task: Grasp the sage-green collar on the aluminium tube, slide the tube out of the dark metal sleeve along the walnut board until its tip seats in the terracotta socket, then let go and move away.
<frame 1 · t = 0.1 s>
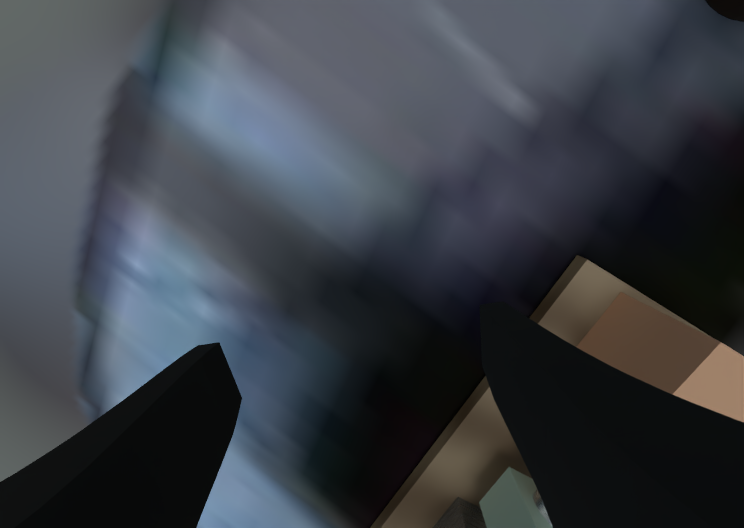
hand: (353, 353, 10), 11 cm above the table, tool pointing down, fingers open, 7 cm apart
tube stand: (515, 454, 23), on the table
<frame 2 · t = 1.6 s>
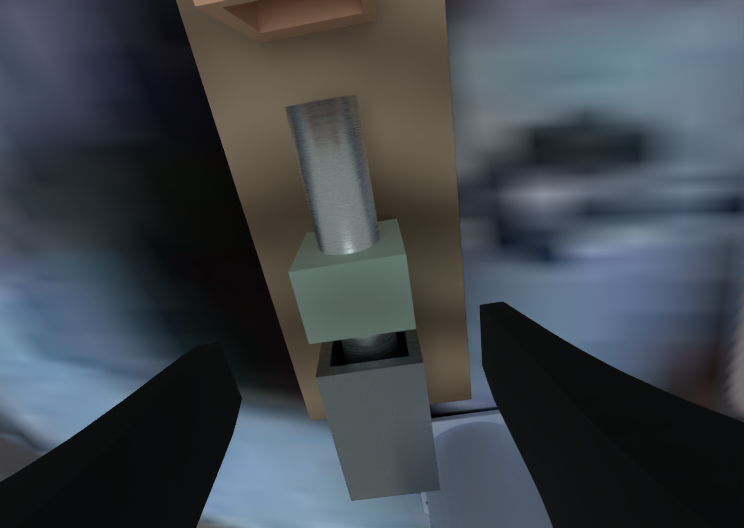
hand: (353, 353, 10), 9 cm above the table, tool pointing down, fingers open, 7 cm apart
tube stand: (355, 219, 18), on the table
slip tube: (362, 308, 15), point 5 cm above the table, slide at 0.0 cm
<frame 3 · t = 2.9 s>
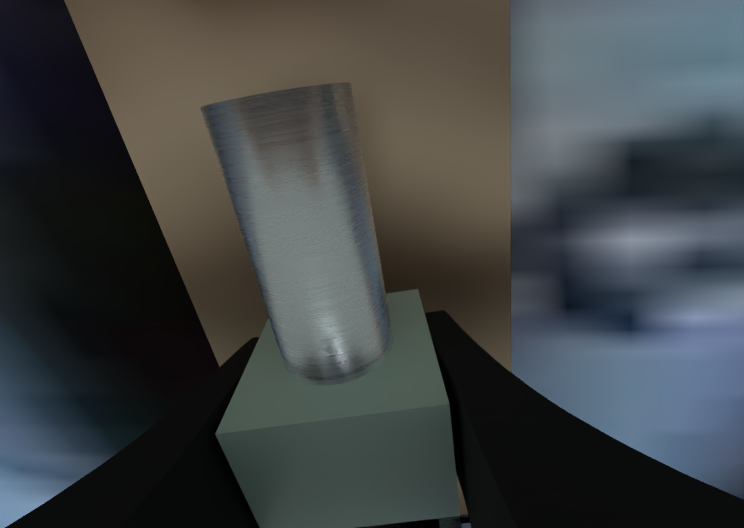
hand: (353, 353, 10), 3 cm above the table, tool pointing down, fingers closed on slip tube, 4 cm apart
tube stand: (351, 275, 12), on the table
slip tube: (362, 441, 9), point 5 cm above the table, slide at 0.0 cm, touching gripper
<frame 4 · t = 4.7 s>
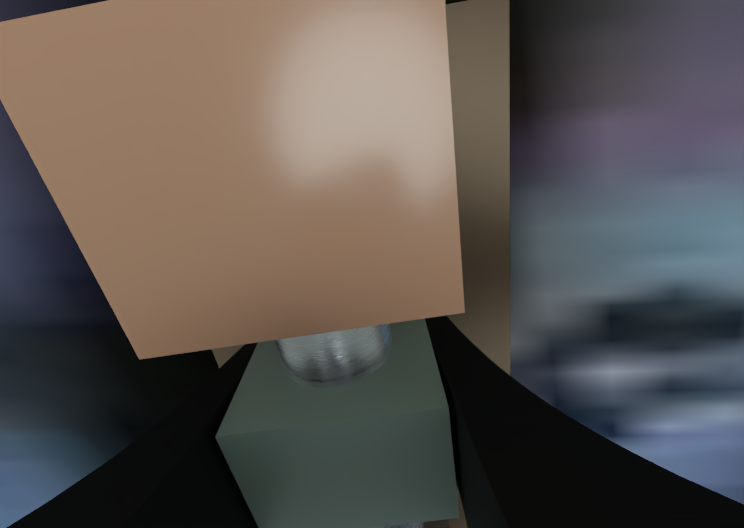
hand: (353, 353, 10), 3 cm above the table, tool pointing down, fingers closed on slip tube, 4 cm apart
tube stand: (375, 398, 14), on the table
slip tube: (361, 443, 9), point 5 cm above the table, slide at 5.5 cm, touching gripper
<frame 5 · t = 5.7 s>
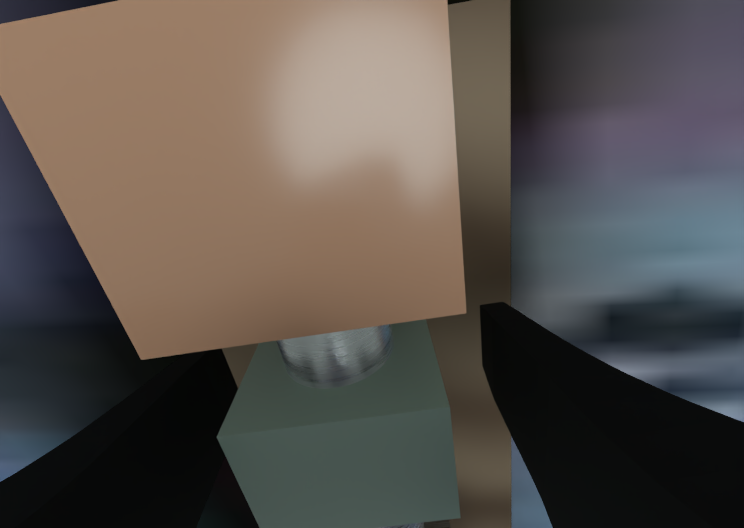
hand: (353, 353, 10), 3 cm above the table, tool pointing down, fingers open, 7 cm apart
tube stand: (376, 398, 14), on the table
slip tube: (362, 443, 9), point 5 cm above the table, slide at 5.5 cm
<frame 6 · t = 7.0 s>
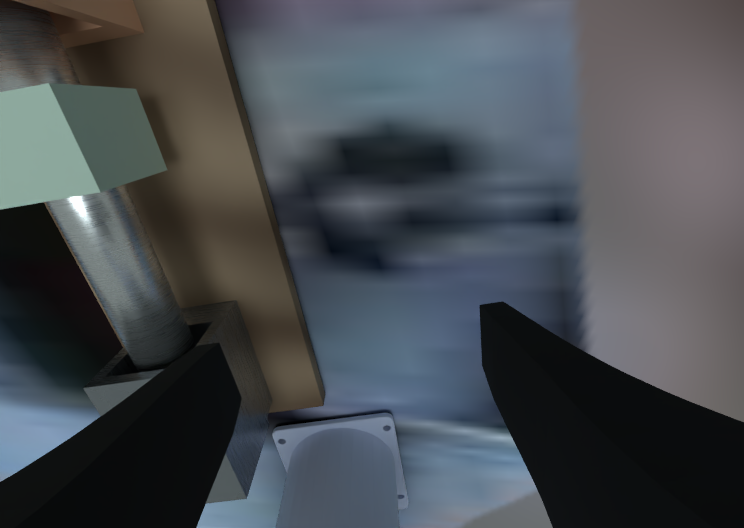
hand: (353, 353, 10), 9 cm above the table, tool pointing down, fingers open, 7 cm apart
tube stand: (178, 228, 18), on the table
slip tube: (85, 188, 13), point 5 cm above the table, slide at 5.5 cm
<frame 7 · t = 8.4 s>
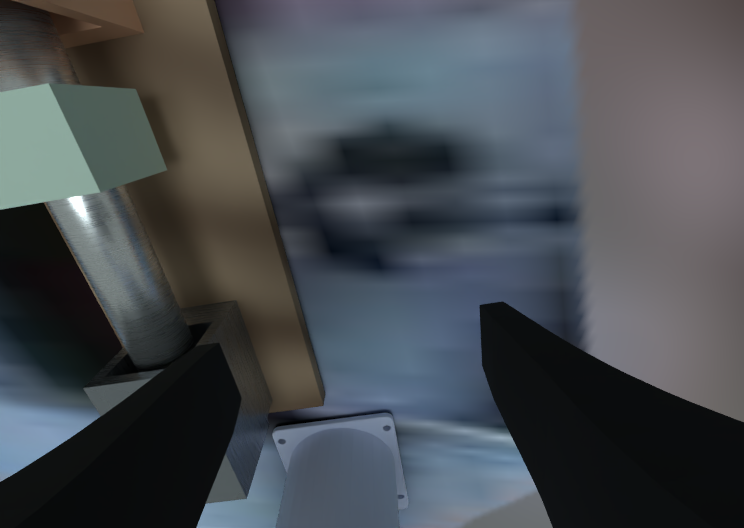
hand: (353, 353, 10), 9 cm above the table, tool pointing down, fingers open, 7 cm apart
tube stand: (178, 228, 18), on the table
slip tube: (85, 188, 13), point 5 cm above the table, slide at 5.5 cm
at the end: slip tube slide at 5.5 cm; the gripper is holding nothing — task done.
